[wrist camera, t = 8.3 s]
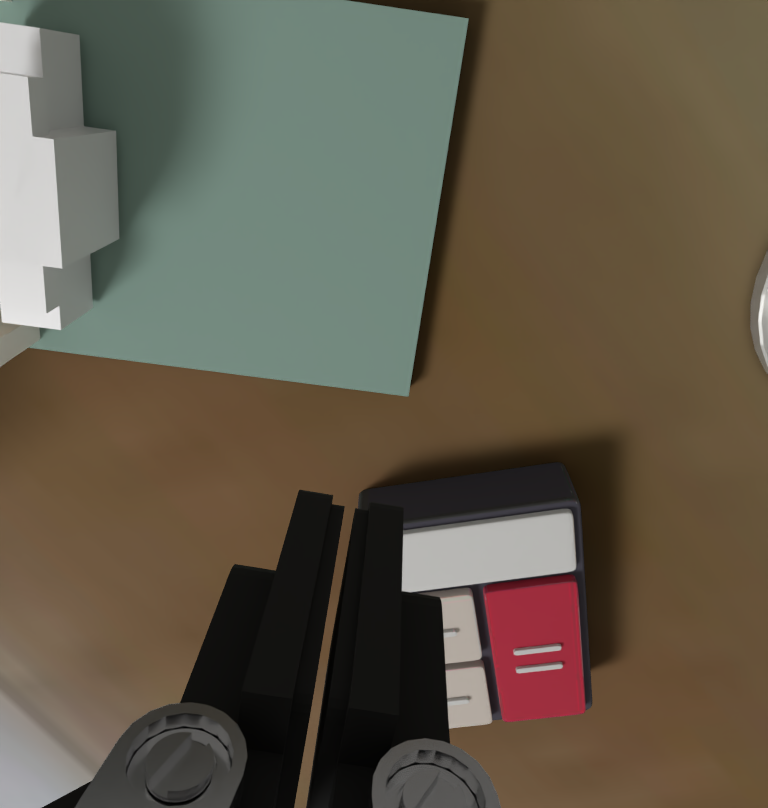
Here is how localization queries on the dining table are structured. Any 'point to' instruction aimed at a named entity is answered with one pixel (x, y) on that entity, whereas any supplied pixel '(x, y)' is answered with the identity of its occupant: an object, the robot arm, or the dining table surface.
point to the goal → (15, 334)
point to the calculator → (501, 588)
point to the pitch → (264, 182)
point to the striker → (50, 180)
